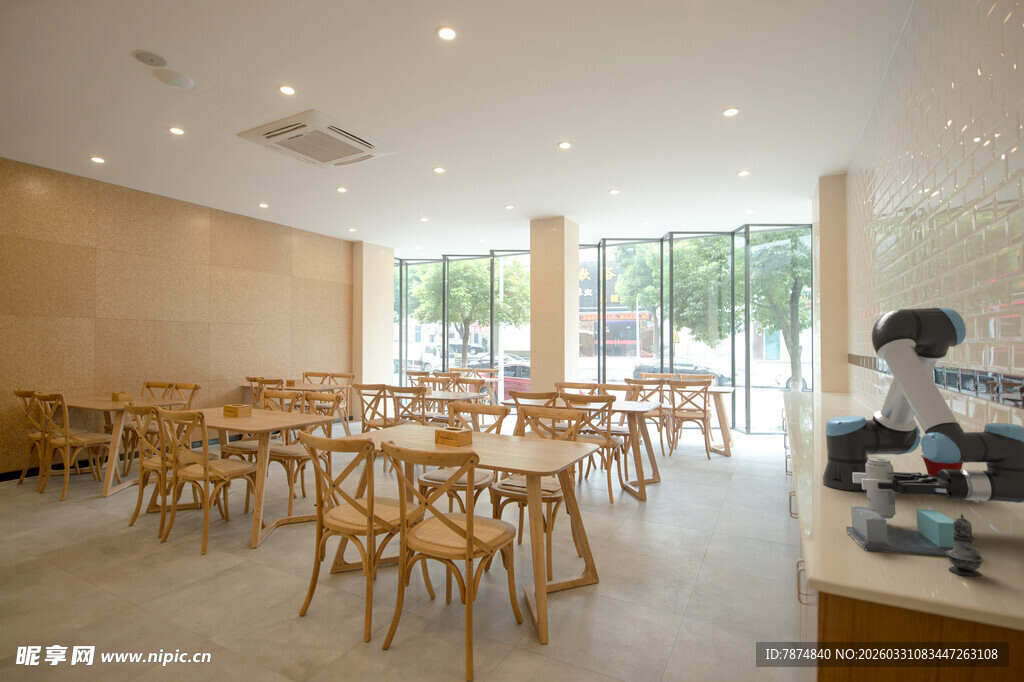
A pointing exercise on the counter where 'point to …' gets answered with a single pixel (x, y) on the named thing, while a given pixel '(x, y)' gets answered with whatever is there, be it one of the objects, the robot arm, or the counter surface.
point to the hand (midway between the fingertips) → (857, 480)
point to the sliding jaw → (936, 527)
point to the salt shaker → (964, 551)
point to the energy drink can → (880, 499)
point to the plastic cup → (939, 466)
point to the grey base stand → (889, 535)
